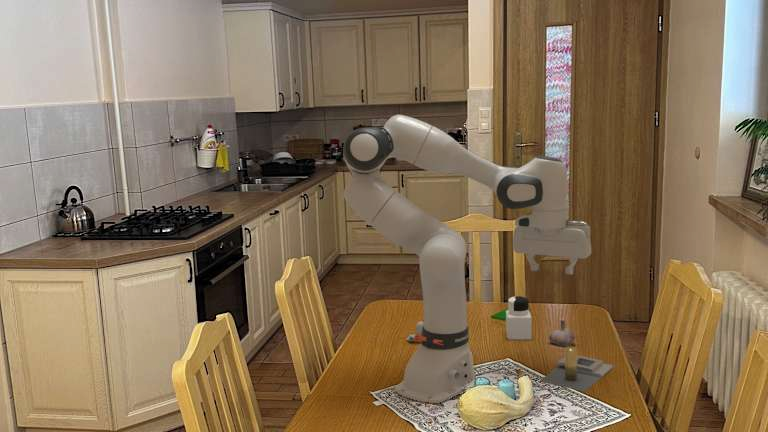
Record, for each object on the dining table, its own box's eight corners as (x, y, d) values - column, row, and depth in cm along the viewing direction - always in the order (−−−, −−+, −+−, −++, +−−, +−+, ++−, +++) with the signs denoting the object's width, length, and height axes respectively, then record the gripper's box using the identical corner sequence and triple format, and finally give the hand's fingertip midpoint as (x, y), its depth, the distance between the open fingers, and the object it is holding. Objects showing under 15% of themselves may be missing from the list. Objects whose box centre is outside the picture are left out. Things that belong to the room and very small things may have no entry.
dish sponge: (531, 316, 237) (531, 309, 236) (508, 327, 227) (508, 319, 226) (513, 312, 241) (513, 305, 241) (490, 322, 231) (490, 315, 231)
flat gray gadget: (601, 377, 180) (601, 371, 180) (557, 367, 187) (557, 361, 187) (611, 368, 186) (612, 362, 185) (568, 359, 193) (568, 353, 193)
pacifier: (402, 341, 217) (415, 345, 212) (401, 321, 216) (414, 325, 211) (419, 335, 222) (433, 339, 217) (418, 316, 221) (432, 319, 216)
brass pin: (574, 382, 178) (574, 351, 176) (562, 379, 180) (563, 349, 178) (578, 378, 180) (579, 347, 179) (567, 375, 182) (567, 345, 181)
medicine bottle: (529, 332, 220) (529, 294, 218) (531, 339, 213) (531, 301, 211) (505, 332, 221) (505, 294, 219) (507, 339, 214) (507, 301, 212)
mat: (584, 397, 172) (584, 391, 172) (539, 386, 180) (539, 380, 179) (615, 370, 188) (615, 365, 187) (572, 361, 195) (572, 356, 195)
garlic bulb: (573, 350, 204) (573, 323, 202) (547, 348, 206) (547, 321, 205) (575, 341, 211) (576, 315, 209) (550, 339, 213) (550, 313, 212)
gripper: (594, 219, 178) (595, 273, 180) (519, 215, 190) (521, 265, 192) (585, 224, 173) (586, 279, 175) (509, 219, 185) (510, 271, 187)
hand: (551, 272), depth 184 cm, fingers open, 8 cm apart
